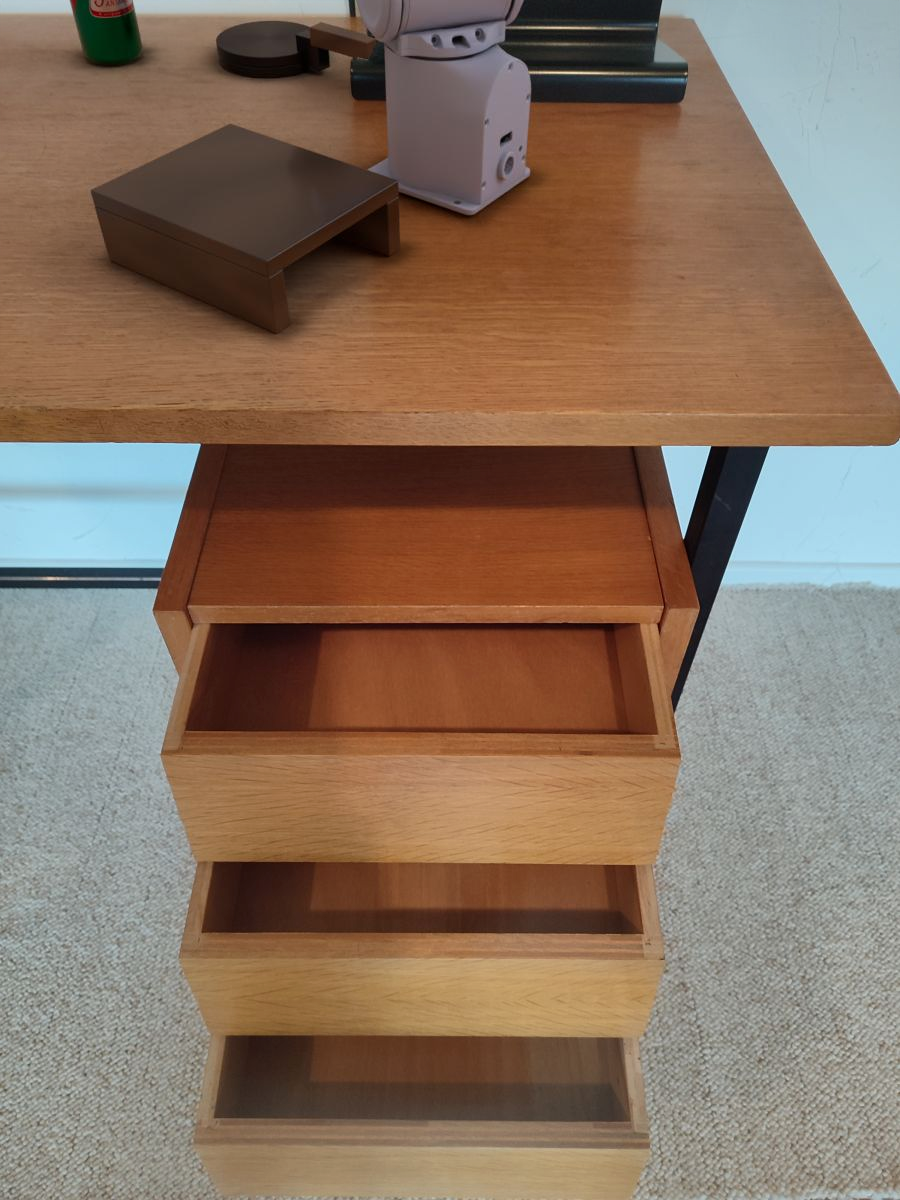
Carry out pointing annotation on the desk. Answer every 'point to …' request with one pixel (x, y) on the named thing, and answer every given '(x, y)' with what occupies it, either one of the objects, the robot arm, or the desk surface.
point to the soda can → (107, 30)
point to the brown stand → (241, 218)
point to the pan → (286, 47)
